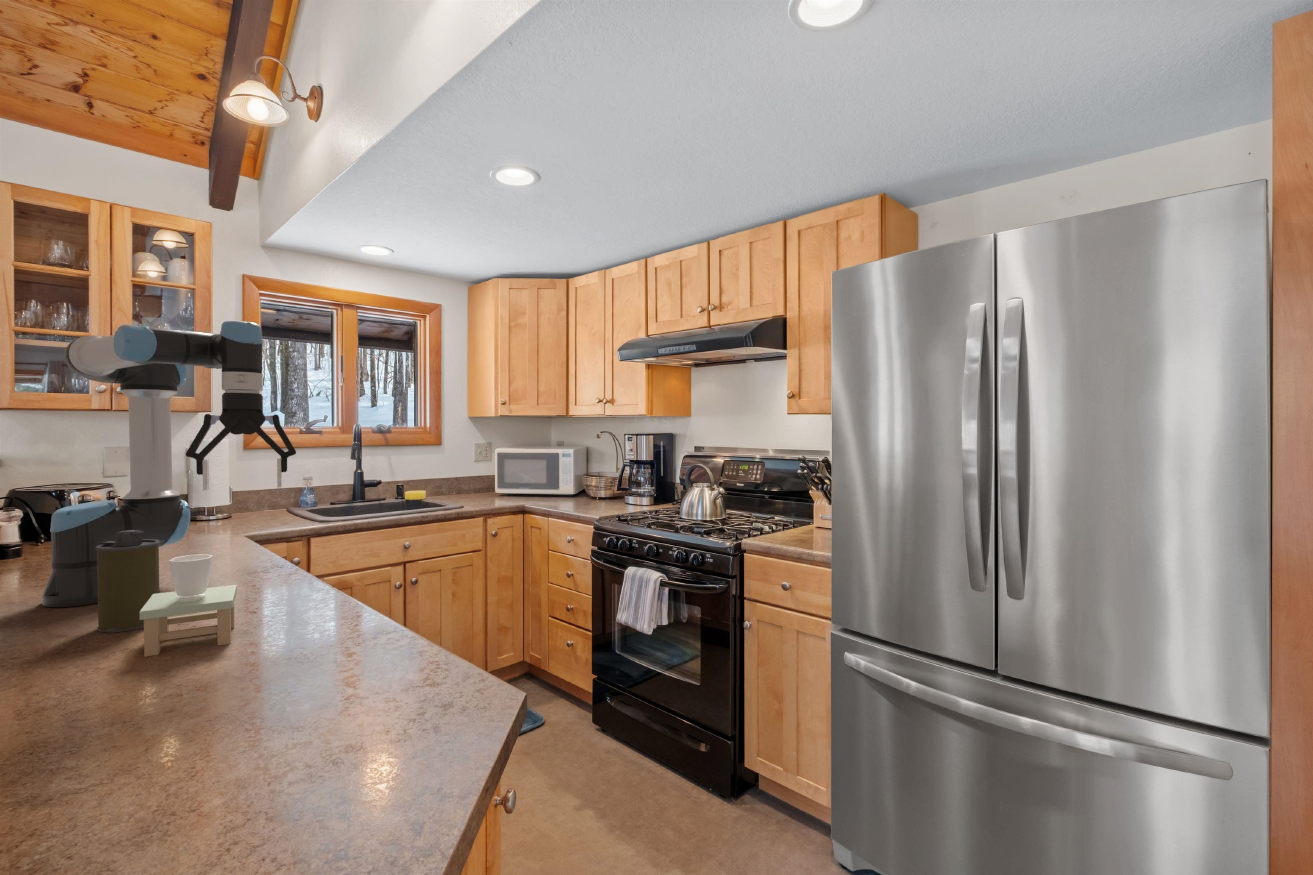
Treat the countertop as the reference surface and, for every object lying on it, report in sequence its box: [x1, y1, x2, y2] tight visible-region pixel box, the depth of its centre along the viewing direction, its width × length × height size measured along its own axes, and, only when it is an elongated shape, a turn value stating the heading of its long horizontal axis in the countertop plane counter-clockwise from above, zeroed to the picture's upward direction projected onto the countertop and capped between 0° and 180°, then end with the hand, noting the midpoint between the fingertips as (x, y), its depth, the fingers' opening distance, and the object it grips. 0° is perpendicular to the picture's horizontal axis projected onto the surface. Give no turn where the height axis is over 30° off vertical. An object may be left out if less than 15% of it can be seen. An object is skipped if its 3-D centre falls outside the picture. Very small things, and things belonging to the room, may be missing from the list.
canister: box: [95, 530, 160, 634], centre depth 132 cm, size 11×10×20 cm
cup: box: [168, 553, 214, 602], centre depth 122 cm, size 7×10×8 cm
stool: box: [140, 584, 238, 658], centre depth 123 cm, size 14×14×8 cm
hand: (243, 488), depth 138 cm, fingers open, 13 cm apart
